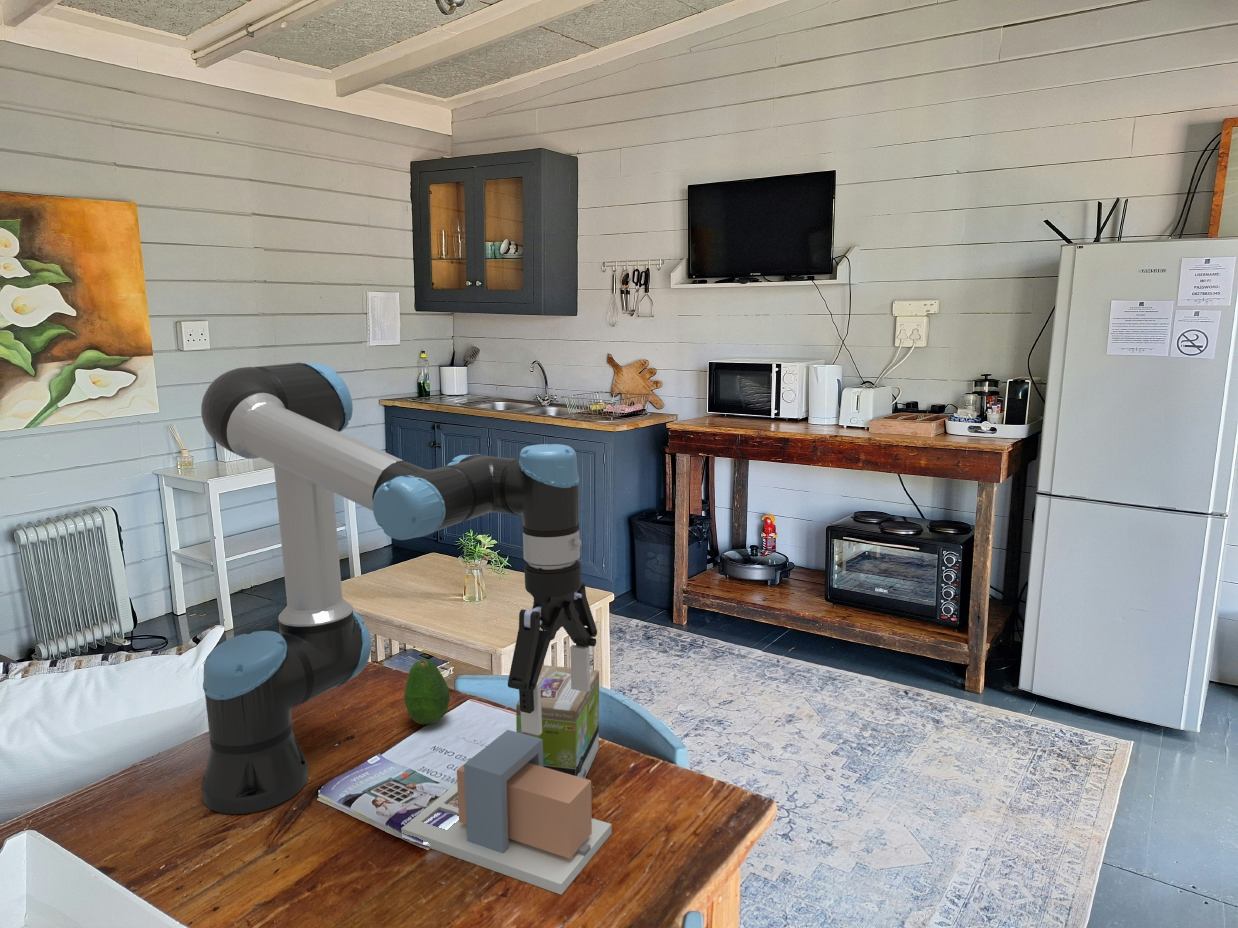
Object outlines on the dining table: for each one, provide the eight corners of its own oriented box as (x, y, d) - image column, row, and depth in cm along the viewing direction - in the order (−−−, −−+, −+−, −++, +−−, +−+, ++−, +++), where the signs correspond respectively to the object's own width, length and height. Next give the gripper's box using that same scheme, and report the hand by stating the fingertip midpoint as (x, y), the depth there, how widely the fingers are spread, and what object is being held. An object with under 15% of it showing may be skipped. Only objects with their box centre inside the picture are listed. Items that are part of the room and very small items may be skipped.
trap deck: (401, 837, 118) (396, 753, 116) (462, 787, 130) (459, 709, 128) (561, 894, 107) (559, 801, 104) (611, 833, 119) (611, 749, 116)
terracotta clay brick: (458, 821, 118) (456, 769, 117) (484, 799, 123) (482, 749, 122) (569, 858, 110) (569, 803, 109) (591, 833, 115) (591, 780, 114)
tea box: (578, 800, 127) (577, 709, 124) (515, 792, 129) (512, 703, 126) (600, 749, 141) (599, 667, 139) (543, 743, 143) (541, 662, 141)
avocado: (396, 725, 150) (393, 662, 147) (430, 707, 156) (427, 647, 154) (427, 738, 145) (424, 673, 143) (460, 720, 151) (457, 657, 149)
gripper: (527, 593, 99) (533, 758, 103) (618, 540, 121) (620, 678, 125) (474, 585, 102) (482, 746, 106) (572, 535, 124) (576, 669, 128)
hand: (557, 709), depth 115 cm, fingers open, 13 cm apart
